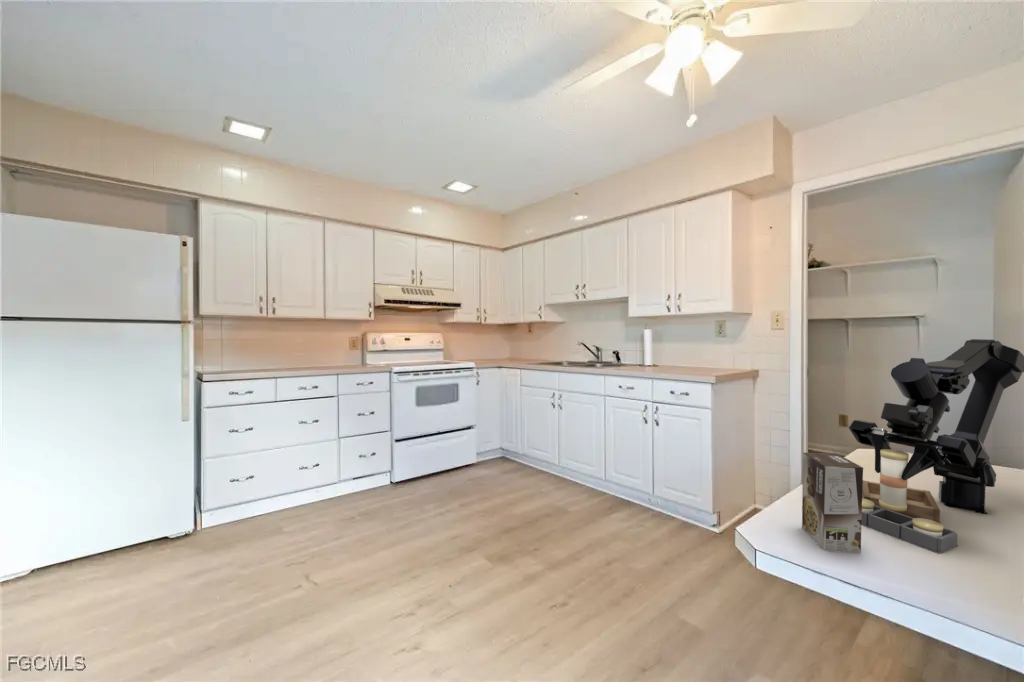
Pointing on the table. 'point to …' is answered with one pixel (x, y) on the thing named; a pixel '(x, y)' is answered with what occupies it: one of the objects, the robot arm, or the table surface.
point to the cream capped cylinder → (893, 480)
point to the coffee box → (832, 501)
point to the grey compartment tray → (907, 530)
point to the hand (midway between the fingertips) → (889, 475)
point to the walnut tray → (907, 501)
